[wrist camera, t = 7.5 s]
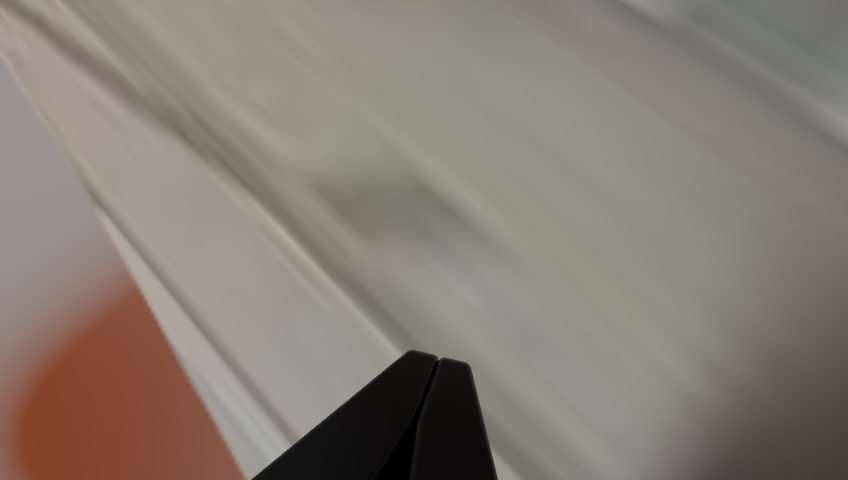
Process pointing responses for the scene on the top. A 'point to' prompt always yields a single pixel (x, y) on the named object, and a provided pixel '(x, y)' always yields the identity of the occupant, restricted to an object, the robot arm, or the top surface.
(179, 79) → the top surface
